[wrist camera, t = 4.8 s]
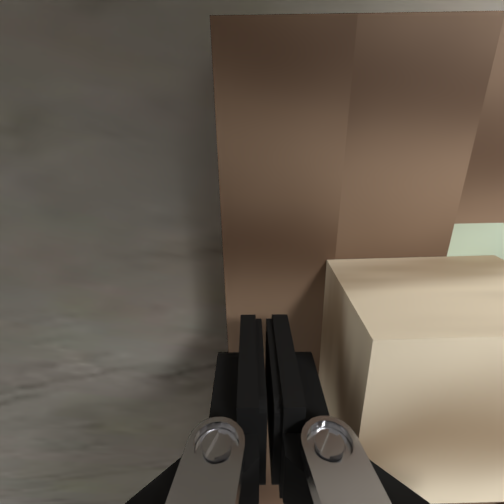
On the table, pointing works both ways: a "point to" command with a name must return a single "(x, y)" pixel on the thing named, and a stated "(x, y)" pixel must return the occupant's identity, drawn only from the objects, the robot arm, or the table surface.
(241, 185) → the board
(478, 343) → the birch block
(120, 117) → the table surface
